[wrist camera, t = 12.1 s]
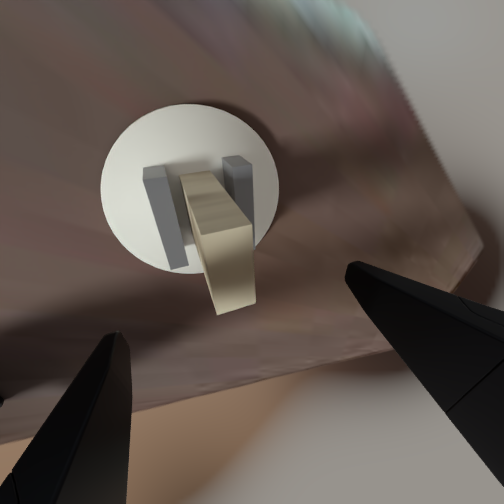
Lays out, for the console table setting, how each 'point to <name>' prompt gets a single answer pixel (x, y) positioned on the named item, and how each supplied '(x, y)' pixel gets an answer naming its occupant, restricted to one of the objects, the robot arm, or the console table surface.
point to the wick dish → (168, 182)
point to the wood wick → (220, 241)
